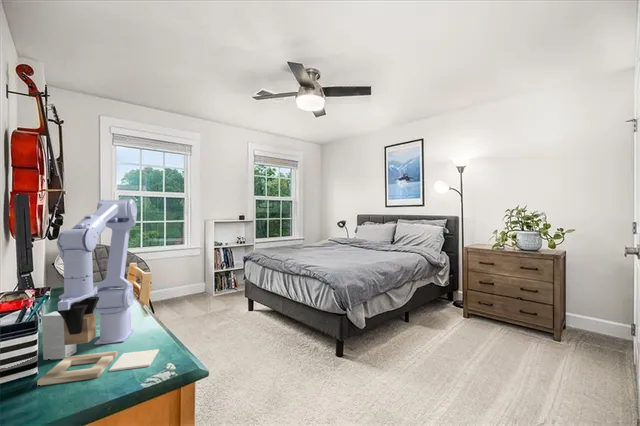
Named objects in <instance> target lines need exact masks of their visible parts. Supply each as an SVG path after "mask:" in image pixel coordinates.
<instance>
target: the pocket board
mask: <svg viewBox="0 0 640 426" xmlns="http://www.w3.org/2000/svg"><path fill="white" fill-rule="evenodd" d="M118 355H119V354H118V350H114V351H103V352H102V351H101V352H93V353H89V354H88V353H87V354H79V355H71V356H68V357H66V358H64V359H61V361H60V362H58V363H56V365H55V366H53V367H52V368H51V369H49V370H48V371H47V372H46V373H45V374H44V375H42V376H41V377H40V378H39V379H38V380H37V381H36V383H37V386H38V385H40V386H44V385H46V386H47V385H54V384H62V383H67V382H74V381H75V382H77V381H82V380H84V381H85V380H90V379H91V380H93V379H97V378H99V377H100V375H102V373H103V372H104V371H105V370H106V369H107V368H108V367H109V365H110V364H112V362H113V361H114V360H115V359H116V358H117V357H118ZM93 363H95V364H94V365H93V366H92V367H91V368H82V369H81V368H80V369H74V370H68V369H69V368H70V367H72V366H74V365H75V366H76V365H83V364H84V365H86V364H93Z"/></svg>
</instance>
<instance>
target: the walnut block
mask: <svg viewBox="0 0 640 426" xmlns="http://www.w3.org/2000/svg"><path fill="white" fill-rule="evenodd" d="M96 336H97V335H96V313H94V312H93V314H84V317H83V324H82V330H81V333H80V334H72V335H70V333H69V331H68V328H67V325H66V323H65V321H64V345H71V344H76V345H80V344H87V343H90V342H91V341H92V340H93V339H94V338H95V337H96Z"/></svg>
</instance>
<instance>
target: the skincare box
mask: <svg viewBox="0 0 640 426" xmlns="http://www.w3.org/2000/svg"><path fill="white" fill-rule="evenodd" d="M41 323H42V324H41V326H42V328H41V329H42V330H41V332H42V333H41V334H42V358H43V360H44V361H46V360H48V359H50V360H51V361H52V360H63V359H64V358H66V357H68V356H74V354H76V353H77V344H71V345H64V319H63V317H62V316H61V315H60V314H59V313H58V311H52V312H49V313H46V314H44V315H42V316H41ZM48 361H49V360H48Z"/></svg>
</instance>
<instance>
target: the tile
mask: <svg viewBox="0 0 640 426" xmlns="http://www.w3.org/2000/svg"><path fill="white" fill-rule="evenodd" d="M159 352H160V349H159V348H157V349H149V350H142V351H141V350H139V351H138V350H137V351H132V352H131V351H129V352H124V353H121V355H120V356H119V357H118V358H117V360H116V361H115V362H114V363H113V364H112V366H111V367H110V368H108V372H109V373H110V372H114V371H115V372H118V371H124V370H131V369H133V370H134V369H137V368H139V369H140V368H145V367H146V368H148V367H150V366H151V364H152V363H153V361H154V359H155V358H156V357H157V355H158V353H159Z"/></svg>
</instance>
